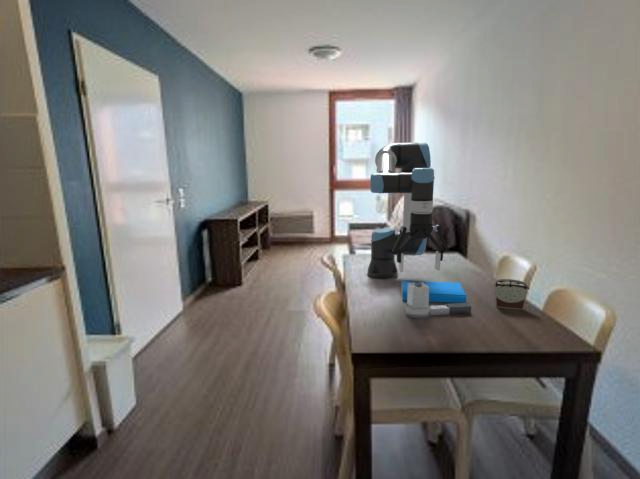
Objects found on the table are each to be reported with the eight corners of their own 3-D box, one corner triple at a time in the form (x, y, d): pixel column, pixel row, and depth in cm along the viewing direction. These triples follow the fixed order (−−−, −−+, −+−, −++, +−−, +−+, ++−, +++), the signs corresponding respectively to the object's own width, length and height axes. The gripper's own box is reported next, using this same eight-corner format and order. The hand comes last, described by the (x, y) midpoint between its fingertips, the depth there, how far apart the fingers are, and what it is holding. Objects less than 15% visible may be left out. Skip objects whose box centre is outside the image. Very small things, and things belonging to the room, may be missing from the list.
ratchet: (402, 310, 146) (402, 292, 145) (462, 307, 148) (464, 290, 147) (409, 319, 138) (410, 300, 136) (474, 316, 140) (475, 298, 138)
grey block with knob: (407, 303, 145) (407, 281, 143) (422, 303, 145) (423, 280, 144) (412, 309, 139) (412, 286, 137) (428, 308, 139) (429, 285, 138)
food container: (524, 304, 151) (527, 280, 149) (527, 310, 145) (529, 284, 143) (490, 301, 155) (492, 277, 153) (491, 306, 149) (493, 281, 147)
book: (401, 280, 173) (459, 281, 168) (401, 289, 173) (458, 291, 169) (402, 292, 156) (467, 294, 152) (402, 302, 157) (466, 304, 152)
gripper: (389, 215, 130) (388, 274, 135) (460, 212, 133) (456, 271, 137) (384, 212, 138) (383, 268, 142) (451, 210, 140) (448, 266, 144)
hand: (419, 270), depth 140 cm, fingers open, 13 cm apart
